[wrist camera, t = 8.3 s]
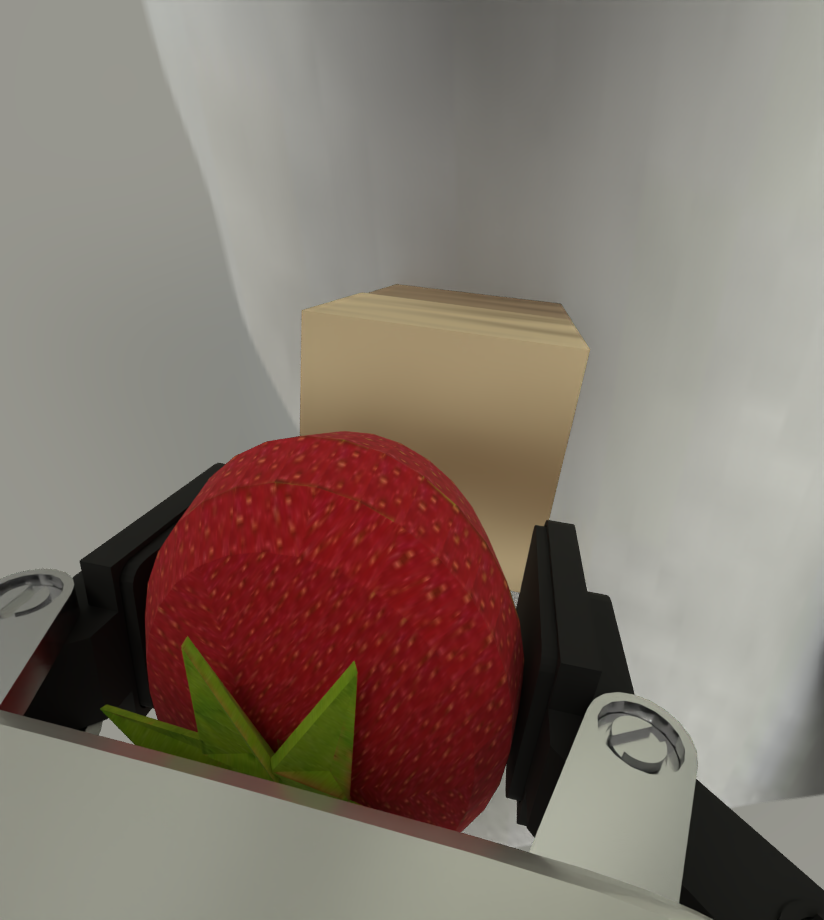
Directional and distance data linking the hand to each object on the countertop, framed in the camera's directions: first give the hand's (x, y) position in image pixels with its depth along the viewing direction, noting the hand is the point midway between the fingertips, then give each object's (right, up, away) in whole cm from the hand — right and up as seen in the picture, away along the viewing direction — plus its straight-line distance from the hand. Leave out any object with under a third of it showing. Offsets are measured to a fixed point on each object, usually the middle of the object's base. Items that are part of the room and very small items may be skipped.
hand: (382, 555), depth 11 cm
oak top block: (+2, +4, +10) cm, 11 cm away
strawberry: (+1, +1, +3) cm, 3 cm away
